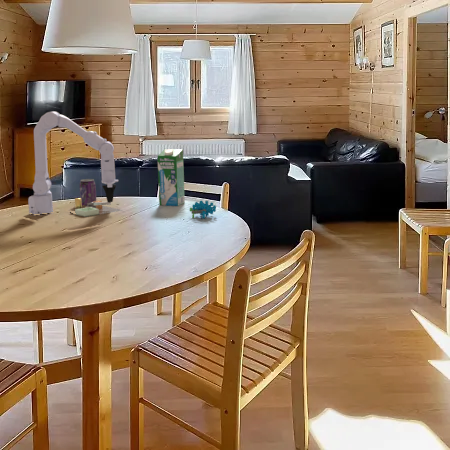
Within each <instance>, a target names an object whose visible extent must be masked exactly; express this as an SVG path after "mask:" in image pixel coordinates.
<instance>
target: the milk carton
mask: <svg viewBox="0 0 450 450" xmlns="http://www.w3.org/2000/svg"><path fill="white" fill-rule="evenodd" d="M184 169H185V167H184V149H183V148H182V149H179V148H177V149H176V148H164V149H163V150H162V151H161V152H160V153H159V154H158V155H157V175H158V177H157V178H158V200H159V201H158V202H159V203H158V205H159V206H166V207H167V206H168V207H179V206H181V205H183V204H184V203H186V201H185V200H186V199H185V198H186V197H185V175H184V174H185V172H184Z"/></svg>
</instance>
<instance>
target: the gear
mask: <svg viewBox="0 0 450 450" xmlns="http://www.w3.org/2000/svg"><path fill="white" fill-rule="evenodd" d="M216 211H217V206H216V204H215V205H214V202H210V203H209V200H205V202H204V201H203V200H199V202H198V201H196V202H194V204H192V207H189V212H190V213H191V215H192V216H191V217H192V219H194V218H195V215H196V214H197V215H199V216H201V217H202V219H203V220H204V219H206V216H209V214H210V215H213V214H214V213H215V212H216Z"/></svg>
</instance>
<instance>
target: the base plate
mask: <svg viewBox="0 0 450 450" xmlns="http://www.w3.org/2000/svg"><path fill="white" fill-rule="evenodd" d="M93 202H103V201H102V200H96V201H93ZM87 207H92V208H96V209H99V214H98V215H104V214H110V213H115V212H121V211H123V209H119V208H114V207H110V206H107V205H93V206H88V205H87V206H85V208H87ZM98 215H97V216H98ZM93 216H94V217H95V215H92V216H91V217H93ZM87 217H88V218H89V217H90V216H86V217H85V218H87Z"/></svg>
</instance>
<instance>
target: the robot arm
mask: <svg viewBox="0 0 450 450" xmlns="http://www.w3.org/2000/svg"><path fill="white" fill-rule="evenodd" d="M56 127H59V128H66V129H67V130H70V131H71V132H73V133H74V134H76V135H77V136H80V137H81V138H82V140H83V142H84V144H87V146H89V147H91V148H92V149H93V150H95V151H99V154H100V167H101V168H100V171H101V183H102V184H104V185H102V188H103V191H104V193H105V197H106V202H107V201H108V202H111V203H112V202H113V201H114V193H115V189H116V187H117V186H116V185H117V184H115V183H118V182H119V179H116V168H115V167H116V165H115V164H116V163H115V155H114V151H115V147H114V145H113V143H112V142H111V141H107V138H103V137H102V136H100V135H99V134H98V132H97V131H92V130H89V131H87V130H85V129H84V128H83V127H81V126H80V125H79V124H77V123H76V122H74V121H73V120H72V119H70V118H69V117H67V116H66V115H63V114H60V113H59V112H58V111H54V110H53V111H47V112H45V113H44V114H43V115H41V117H40V118H39V121H38V122H37V123H36V125H35V127H34V129H33V141H34V142H33V144H34V146H33V147H34V160H35V161H34V162H35V163H34V166H35V174H34V182H33V184H32V190H33V195H31V196H29V197H28V198H27V199H28V200H27V201H28V204H27V205H28V212H29V213H32V214H42V213H51V212H53V213H54V207H53V194H52V191H51V189H52V181H51V180H50V177H49V176H50V175H49V170H48V167H49V166H48V150H47V148H48V147H47V134H48V133H49V132H50V131H51V130H52V129H53V128H56ZM29 213H28V214H29ZM51 214H52V213H51Z"/></svg>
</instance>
